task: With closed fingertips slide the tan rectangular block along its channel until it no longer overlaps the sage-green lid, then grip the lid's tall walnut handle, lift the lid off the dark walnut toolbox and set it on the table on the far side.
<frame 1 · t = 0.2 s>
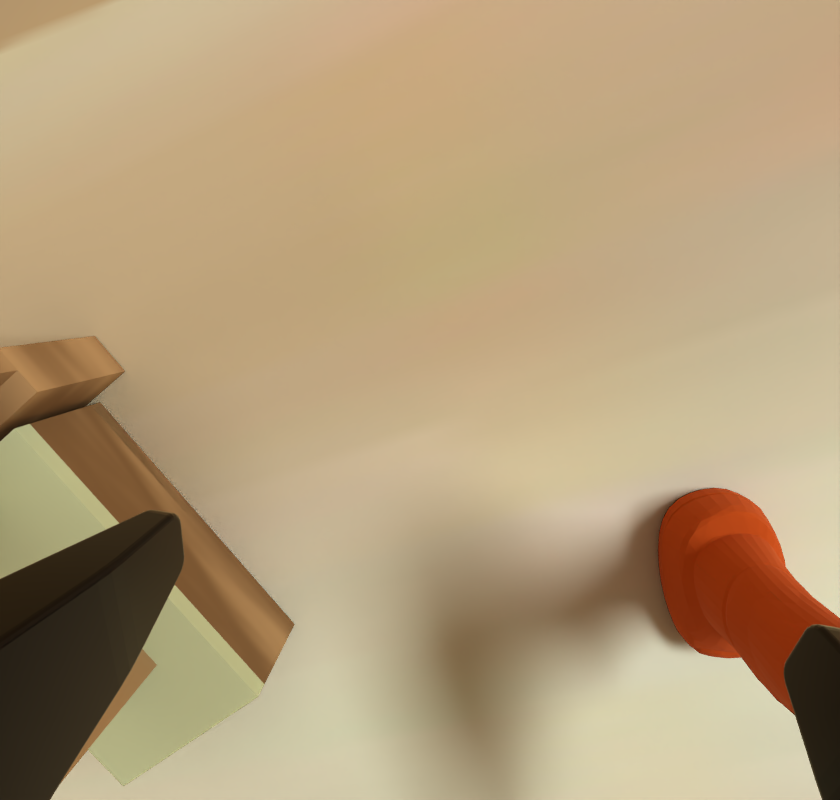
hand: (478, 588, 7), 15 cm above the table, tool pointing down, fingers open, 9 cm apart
toolbox: (142, 561, 26), on the table
toy drill: (727, 650, 24), on the table
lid: (85, 610, 22), point 4 cm above the table, touching toolbox
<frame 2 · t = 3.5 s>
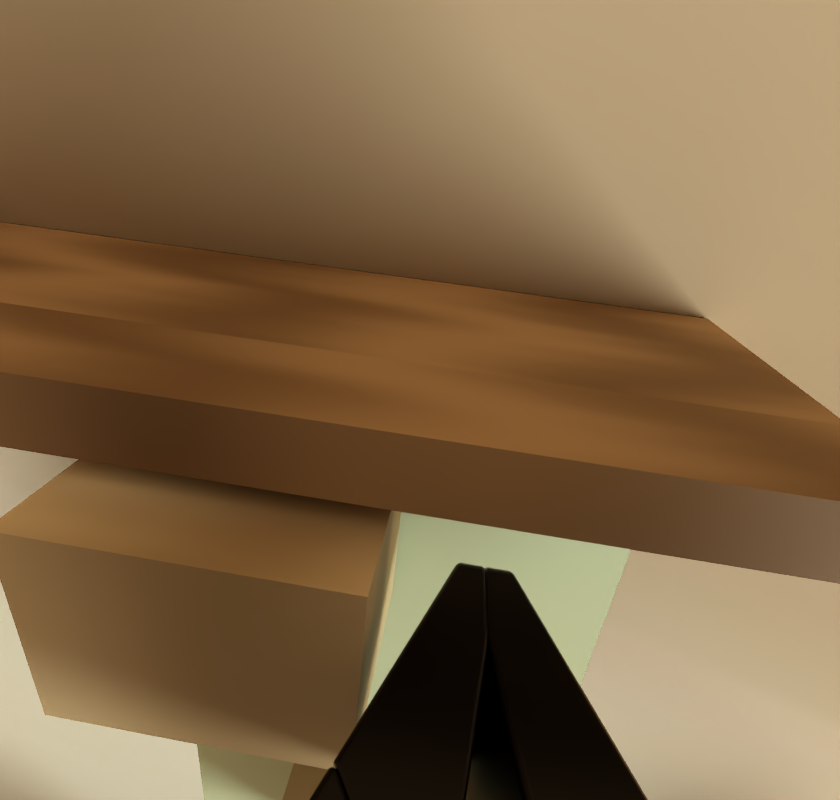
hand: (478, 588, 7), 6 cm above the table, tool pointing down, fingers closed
toolbox: (398, 585, 16), on the table
tan rectangular block: (241, 568, 7), point 7 cm above the table, slide at 0.8 cm, touching gripper, toolbox
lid: (372, 713, 12), point 4 cm above the table, touching toolbox
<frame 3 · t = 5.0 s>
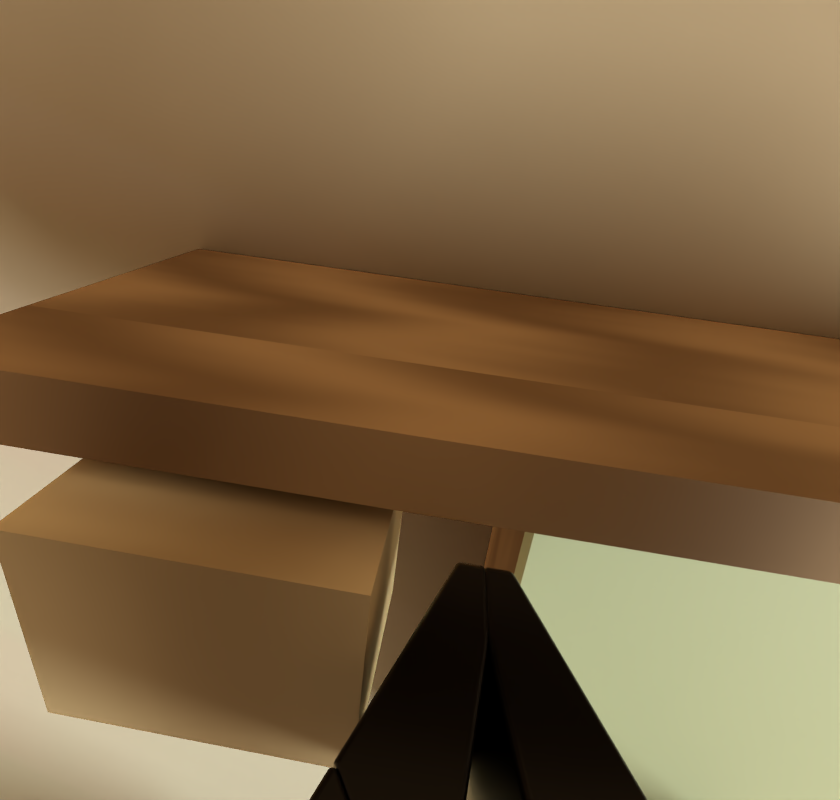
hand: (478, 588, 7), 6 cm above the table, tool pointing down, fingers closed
toolbox: (610, 622, 15), on the table
tan rectangular block: (243, 567, 7), point 7 cm above the table, slide at 7.2 cm, touching gripper, toolbox
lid: (647, 764, 12), point 4 cm above the table, touching toolbox
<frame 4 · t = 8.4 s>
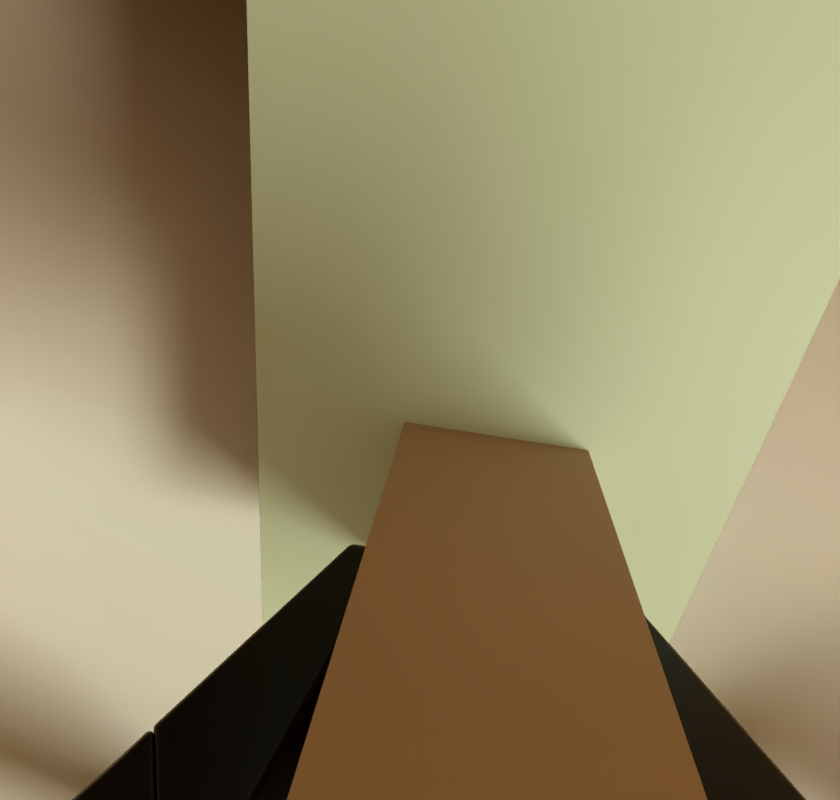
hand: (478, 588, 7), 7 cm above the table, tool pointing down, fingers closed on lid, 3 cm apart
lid: (500, 390, 9), point 4 cm above the table, touching gripper, toolbox
when the fingers open (4 cm above the table, at t = 11.9 s): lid drops 1 cm, point 1 cm above the table.
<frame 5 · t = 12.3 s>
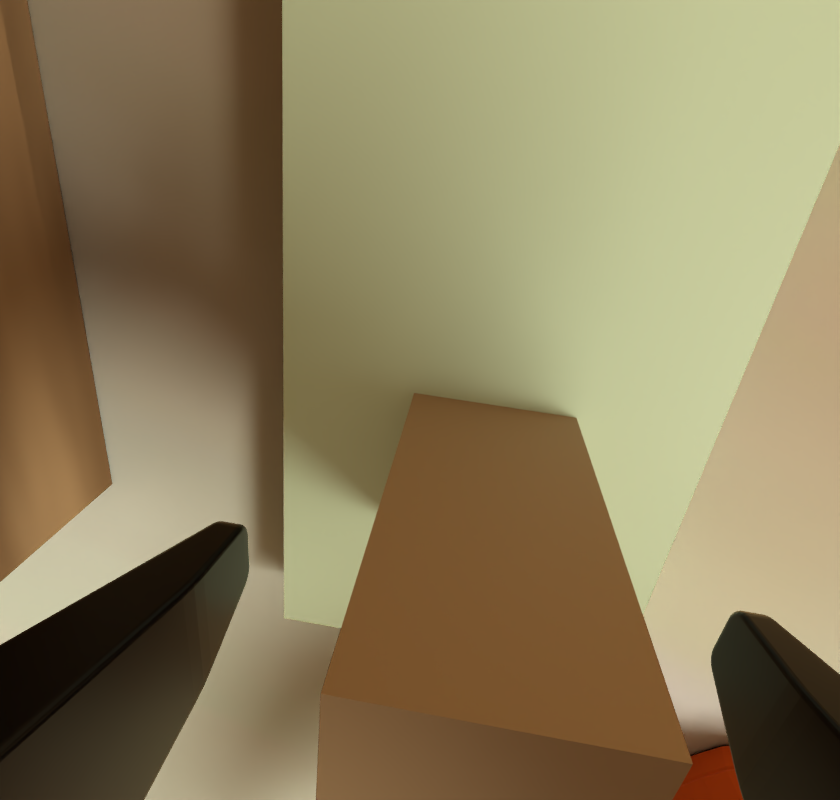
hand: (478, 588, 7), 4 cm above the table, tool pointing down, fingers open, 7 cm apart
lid: (498, 366, 10), point 1 cm above the table
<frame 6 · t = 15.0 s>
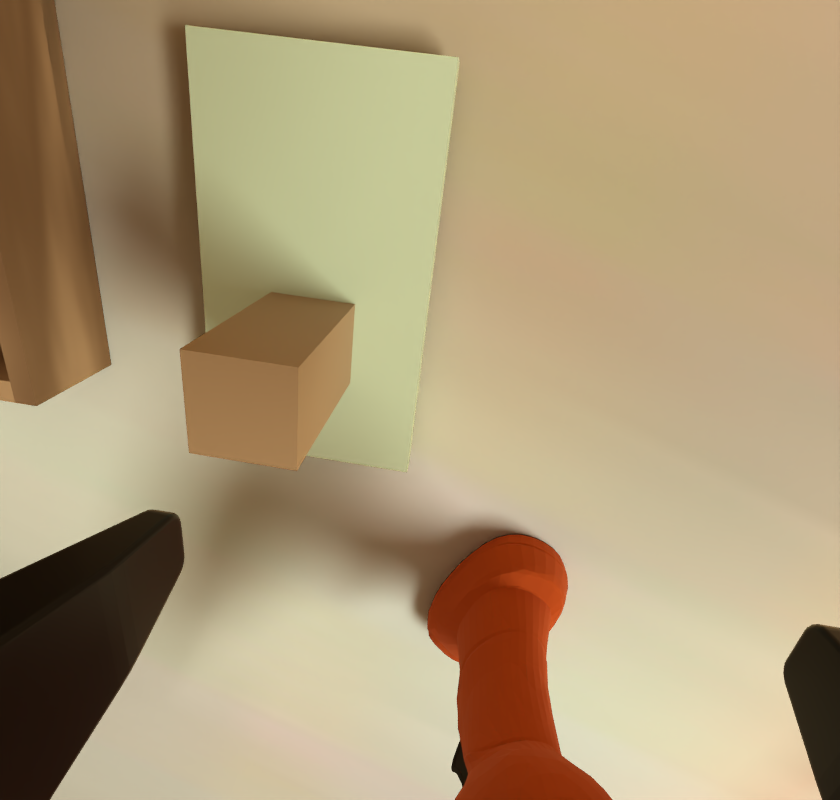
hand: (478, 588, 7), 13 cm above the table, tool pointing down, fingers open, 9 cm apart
toy drill: (447, 643, 27), on the table
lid: (319, 279, 19), point 1 cm above the table
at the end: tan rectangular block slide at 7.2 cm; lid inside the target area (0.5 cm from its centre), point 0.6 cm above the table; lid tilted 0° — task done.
